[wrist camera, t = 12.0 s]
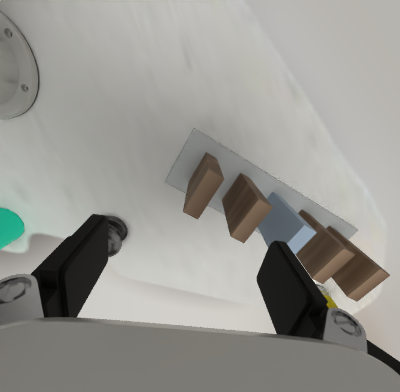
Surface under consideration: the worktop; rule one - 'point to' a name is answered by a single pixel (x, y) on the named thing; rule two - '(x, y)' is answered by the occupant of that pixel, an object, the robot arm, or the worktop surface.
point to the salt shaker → (115, 235)
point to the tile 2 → (244, 208)
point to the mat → (236, 165)
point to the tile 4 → (322, 252)
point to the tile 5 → (357, 271)
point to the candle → (9, 227)
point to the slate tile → (285, 225)
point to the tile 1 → (203, 185)
